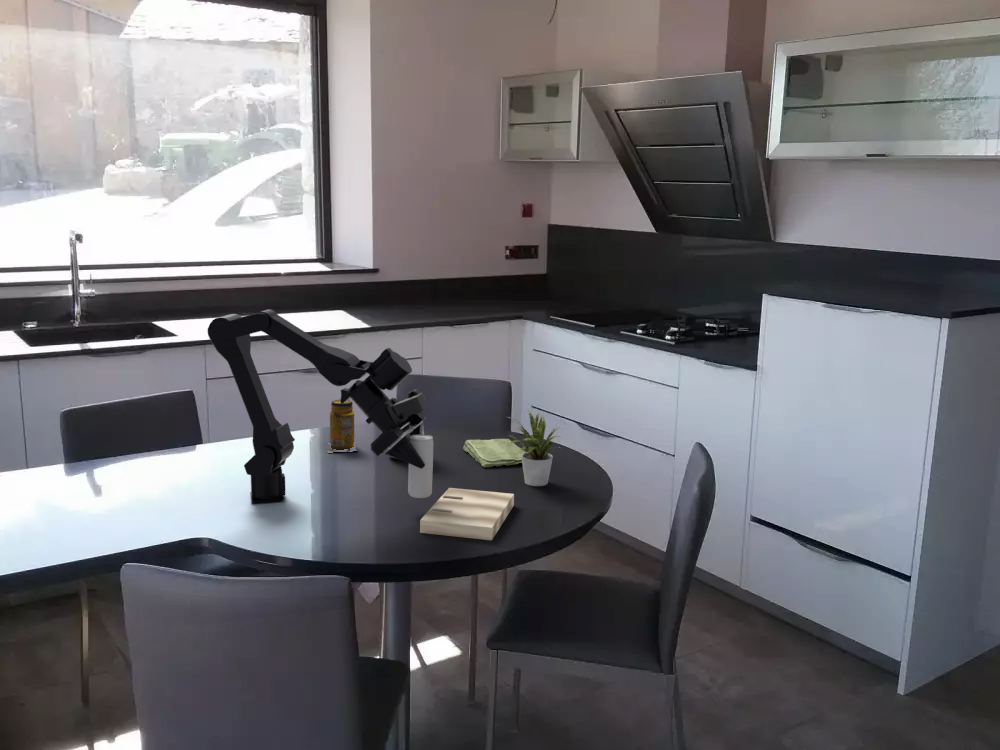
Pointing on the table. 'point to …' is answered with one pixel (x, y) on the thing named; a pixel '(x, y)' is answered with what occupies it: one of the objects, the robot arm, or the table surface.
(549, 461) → the house plant
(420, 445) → the beverage can
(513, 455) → the washcloth
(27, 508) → the table surface
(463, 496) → the chopping board
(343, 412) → the condiment
